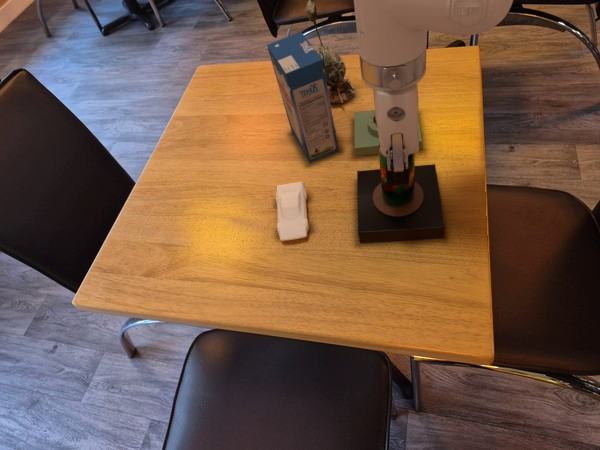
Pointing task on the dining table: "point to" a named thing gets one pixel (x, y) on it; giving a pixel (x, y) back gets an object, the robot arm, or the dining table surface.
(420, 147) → the button box
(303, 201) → the toy car
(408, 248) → the dining table surface
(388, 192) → the soda can
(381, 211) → the stand
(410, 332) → the dining table surface
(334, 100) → the plant with pod
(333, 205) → the dining table surface
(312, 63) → the milk carton
